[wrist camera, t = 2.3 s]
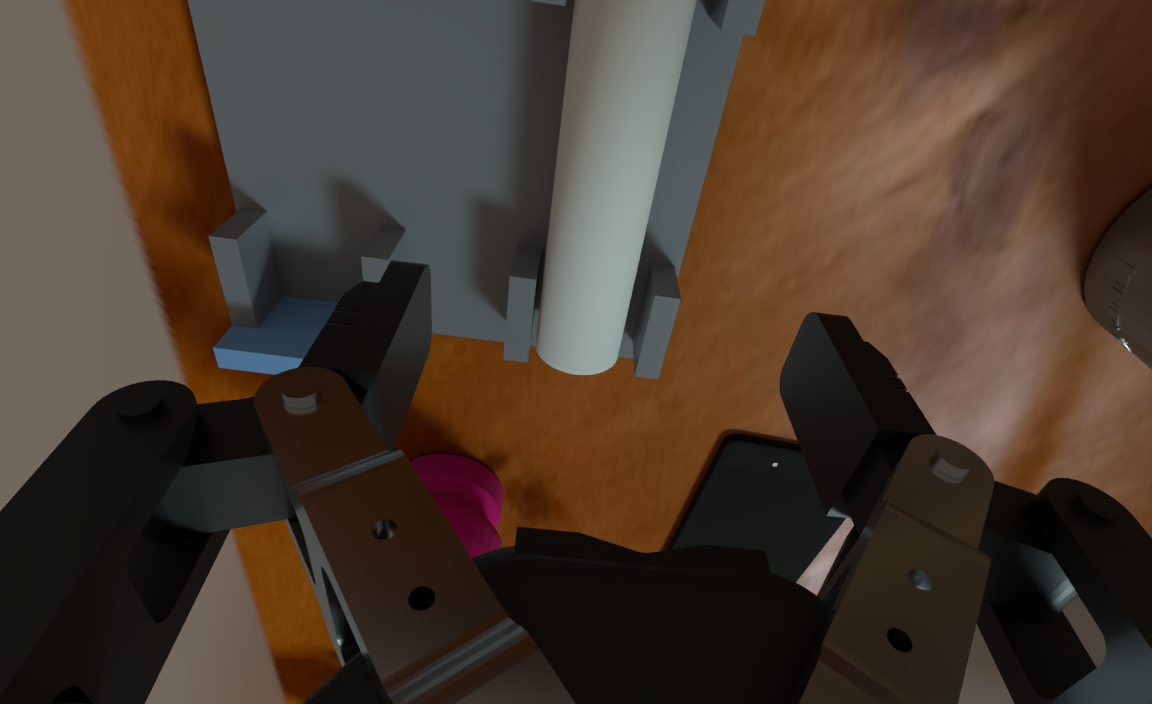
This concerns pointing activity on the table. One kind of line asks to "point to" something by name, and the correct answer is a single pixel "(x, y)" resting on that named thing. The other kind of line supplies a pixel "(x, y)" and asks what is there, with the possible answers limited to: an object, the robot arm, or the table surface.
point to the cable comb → (425, 162)
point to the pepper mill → (464, 498)
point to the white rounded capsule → (607, 172)
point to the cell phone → (759, 505)
